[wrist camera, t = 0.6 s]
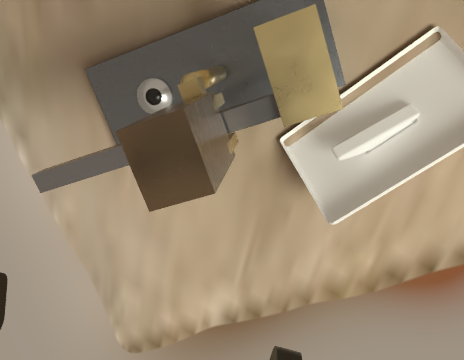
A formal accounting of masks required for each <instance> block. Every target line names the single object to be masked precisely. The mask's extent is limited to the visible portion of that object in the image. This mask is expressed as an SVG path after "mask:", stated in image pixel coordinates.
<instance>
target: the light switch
mask: <svg viewBox="0 0 464 360" xmlns="http://www.w3.org/2000/svg"><path fill="white" fill-rule="evenodd" d="M435 32H439V33H440V34H441V39H440V40H439V41H438V42H436V43H435V44H434V45H432V46H431V47H429V48H428V49H426V50H425V51H424V52H422V53H421V54H419V55H418V56H417V57H415V58H414V59H412V60H411V61H409V62H408V63H407V64H405V65H404V66H402V67H401V68H400V69H398V70H397V71H395V72H394V73H392V74H391V75H390V76H388V77H387V78H385V79H384V80H382V81H381V82H380V83H378V84H377V85H375V86H374V87H373V88H371V89H370V90H368V91H367V92H365V93H364V94H363V95H361V96H360V97H358V98H357V99H356V100H354V101H353V102H351V103H350V104H348V105H347V106H346V107H344V108H343V109H341V110H340V111H339V112H337V113H336V114H334V115H333V116H331V117H330V118H329V119H327V120H326V121H324V122H323V123H322V124H320V125H319V126H317V127H316V128H314V129H313V130H312V131H310V132H309V133H307V134H306V135H305V136H303V137H302V138H300V139H299V140H297V141H296V142H295V143H293V144H292V145H290V146H285V145H284V143H283V142H284V140H285V139H286V138H288V137H289V136H290V135H292V134H293V133H295V132H296V131H297V130H299V129H300V128H302V127H303V126H304V125H306V124H307V123H309V122H310V121H311V120H313V119H314V118H312V119H309V120H305V121H304V122H302V123H301V124H300V125H298V126H297V127H295V128H294V129H293V130H291V131H290V132H288V133H287V134H286V135H284V136H283V137H281V139H280V143H281V144H282V146H283V148H284V149H285V151H286V153H287V155H288V156H289V158H290V160H291V161H292V163H293V165H294V166H295V168H296V170H297V172H298V173H299V175H300V177H301V178H302V180H303V182H304V183H305V185H306V187H307V188H308V190H309V192H310V194H311V195H312V197H313V199H314V200H315V202H316V204H317V205H318V207H319V209H320V211H321V212H322V214H323V216H324V217H325V219H326V221H327V222H328V223H330V224H332V225H334V224H337V223H338V222H340V221H342V220H343V219H345V218H347V217H348V216H350V215H352V214H353V213H355V212H357V211H358V210H360V209H361V208H363V207H365V206H366V205H368V204H370V203H371V202H373V201H375V200H376V199H378V198H380V197H381V196H383V195H385V194H386V193H388V192H390V191H391V190H393V189H395V188H396V187H398V186H400V185H401V184H403V183H405V182H406V181H408V180H410V179H411V178H413V177H414V176H416V175H418V174H419V173H421V172H423V171H424V170H426V169H428V168H429V167H431V166H433V165H434V164H436V163H438V162H439V161H441V160H443V159H444V158H446V157H448V156H449V155H451V154H453V153H454V152H456V151H458V150H459V149H461V148H462V147H464V51H463V50H462V49H461V48H460V47H459V46H458V44H457V43H456V42H455V41H454V40H453V39H452V38H451V37H450V36H449V35H448V34H447V33H446V32H445V31H444V30H443V29H442V28H441V27H435V28H433V29H432V30H430V31H429V32H428V33H426V34H425V35H423V36H422V37H421V38H419V39H418V40H416V41H415V42H414V43H412V44H411V45H409V46H408V47H407V48H405V49H404V50H403V51H401V52H400V53H398V54H397V55H396V56H394V57H393V58H391V59H390V60H389V61H387V62H386V63H384V64H383V65H382V66H380V67H379V68H377V69H376V70H375V71H373V72H372V73H370V74H369V75H368V76H366V77H365V78H364V79H362V80H361V81H359V82H358V83H357V84H355V85H354V86H352V87H351V88H350V89H348V90H347V91H345V92H344V93H343V94H341V95H340V98H341V99H342V98H344V97H345V96H346V95H348V94H349V93H351V92H352V91H353V90H355V89H356V88H358V87H359V86H360V85H362V84H363V83H365V82H366V81H367V80H369V79H370V78H372V77H373V76H374V75H376V74H377V73H379V72H380V71H381V70H383V69H384V68H386V67H387V66H388V65H390V64H391V63H393V62H394V61H395V60H397V59H398V58H400V57H401V56H402V55H404V54H405V53H407V52H408V51H410V50H411V49H412V48H414V47H415V46H417V45H418V44H419V43H421V42H422V41H424V40H425V39H426V38H428V37H429V36H431V35H432V34H433V33H435ZM315 118H316V117H315ZM413 121H414V122H413Z"/></svg>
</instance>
